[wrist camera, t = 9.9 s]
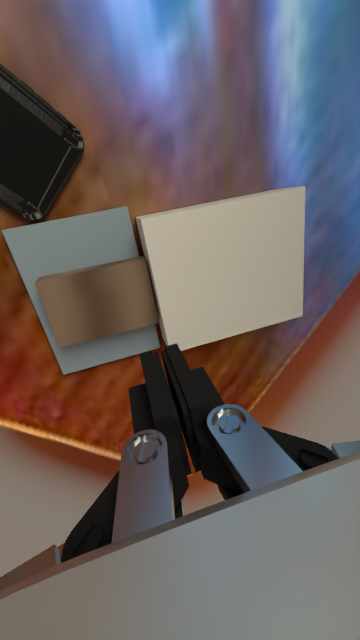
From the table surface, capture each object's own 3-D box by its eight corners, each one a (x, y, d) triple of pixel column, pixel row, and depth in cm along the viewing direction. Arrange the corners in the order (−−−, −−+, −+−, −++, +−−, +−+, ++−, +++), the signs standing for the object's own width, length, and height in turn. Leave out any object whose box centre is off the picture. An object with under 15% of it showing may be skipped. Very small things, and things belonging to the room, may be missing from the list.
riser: (277, 188, 26) (305, 186, 23) (279, 303, 31) (302, 315, 28) (135, 217, 24) (140, 219, 21) (161, 335, 29) (170, 353, 26)
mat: (126, 206, 24) (127, 206, 23) (159, 345, 29) (160, 347, 29) (4, 229, 22) (1, 230, 21) (64, 371, 28) (63, 374, 27)
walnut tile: (142, 255, 25) (145, 259, 23) (155, 315, 27) (158, 323, 26) (39, 276, 23) (34, 282, 22) (62, 337, 26) (59, 347, 24)
